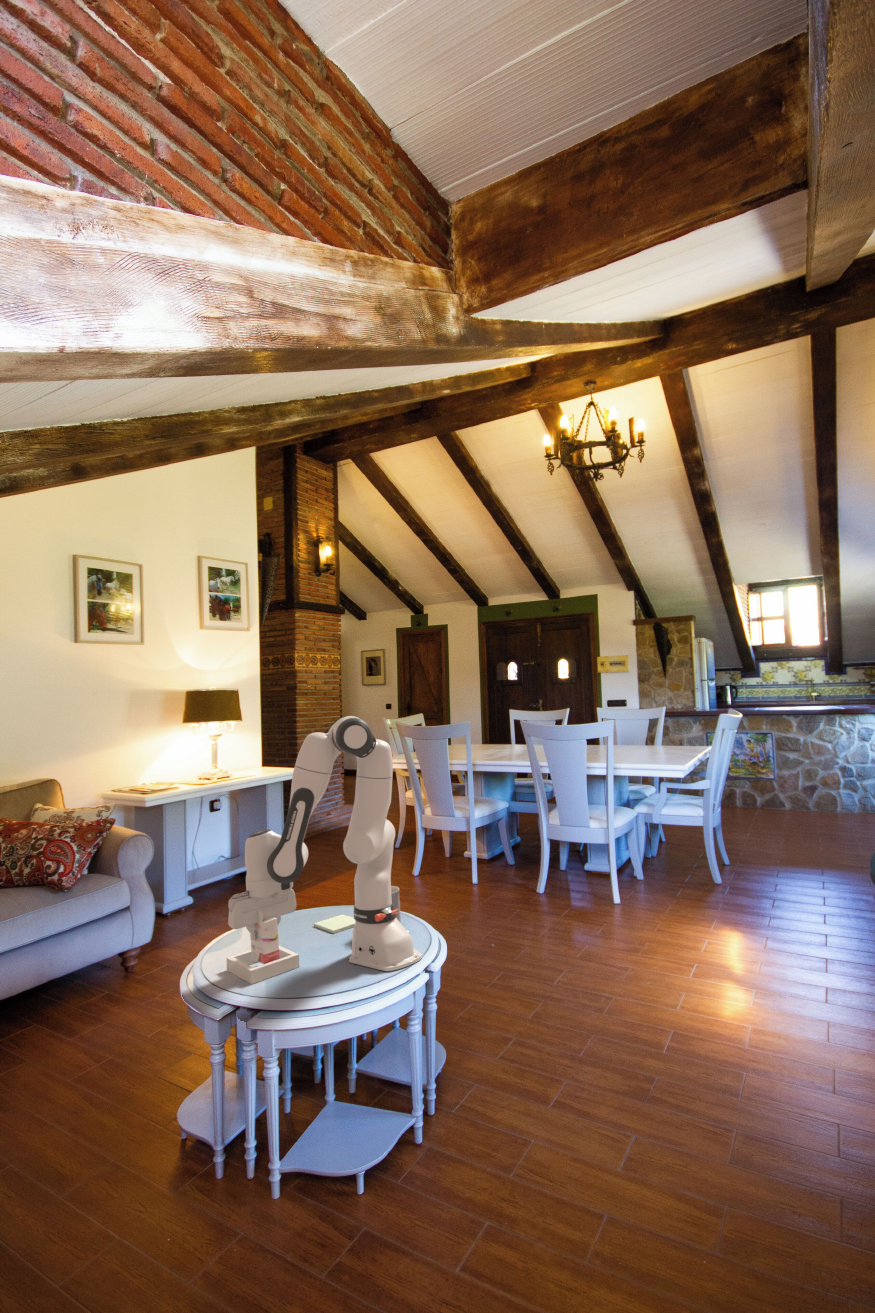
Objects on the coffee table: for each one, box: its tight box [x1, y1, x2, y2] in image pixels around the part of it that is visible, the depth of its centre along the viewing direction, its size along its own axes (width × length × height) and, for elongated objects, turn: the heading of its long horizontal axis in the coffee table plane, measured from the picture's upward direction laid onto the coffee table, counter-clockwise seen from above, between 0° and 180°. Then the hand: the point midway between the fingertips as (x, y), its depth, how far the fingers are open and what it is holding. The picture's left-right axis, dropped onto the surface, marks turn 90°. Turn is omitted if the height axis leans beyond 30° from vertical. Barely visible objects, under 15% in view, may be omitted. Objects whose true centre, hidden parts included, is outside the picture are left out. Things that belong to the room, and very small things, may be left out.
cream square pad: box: [313, 913, 355, 935], centre depth 223 cm, size 12×12×1 cm
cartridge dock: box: [225, 945, 300, 985], centre depth 188 cm, size 15×15×4 cm
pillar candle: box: [391, 885, 402, 924], centre depth 214 cm, size 10×10×15 cm
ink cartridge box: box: [250, 910, 280, 965], centre depth 189 cm, size 9×5×15 cm, turn 43°
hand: (264, 936), depth 189 cm, fingers closed on ink cartridge box, 5 cm apart
